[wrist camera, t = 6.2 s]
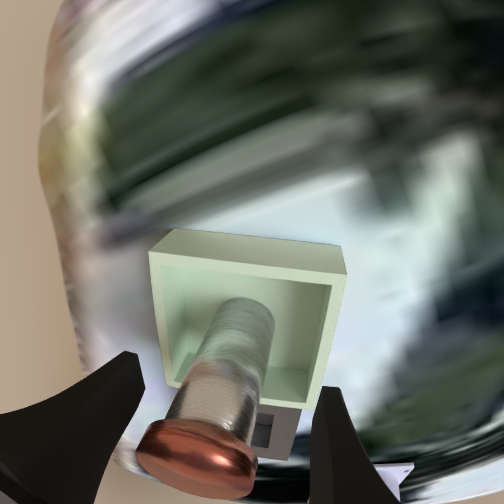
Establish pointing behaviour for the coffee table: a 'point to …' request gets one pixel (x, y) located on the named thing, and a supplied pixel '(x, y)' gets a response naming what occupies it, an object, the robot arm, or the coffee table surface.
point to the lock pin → (215, 408)
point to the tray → (254, 287)
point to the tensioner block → (275, 432)
